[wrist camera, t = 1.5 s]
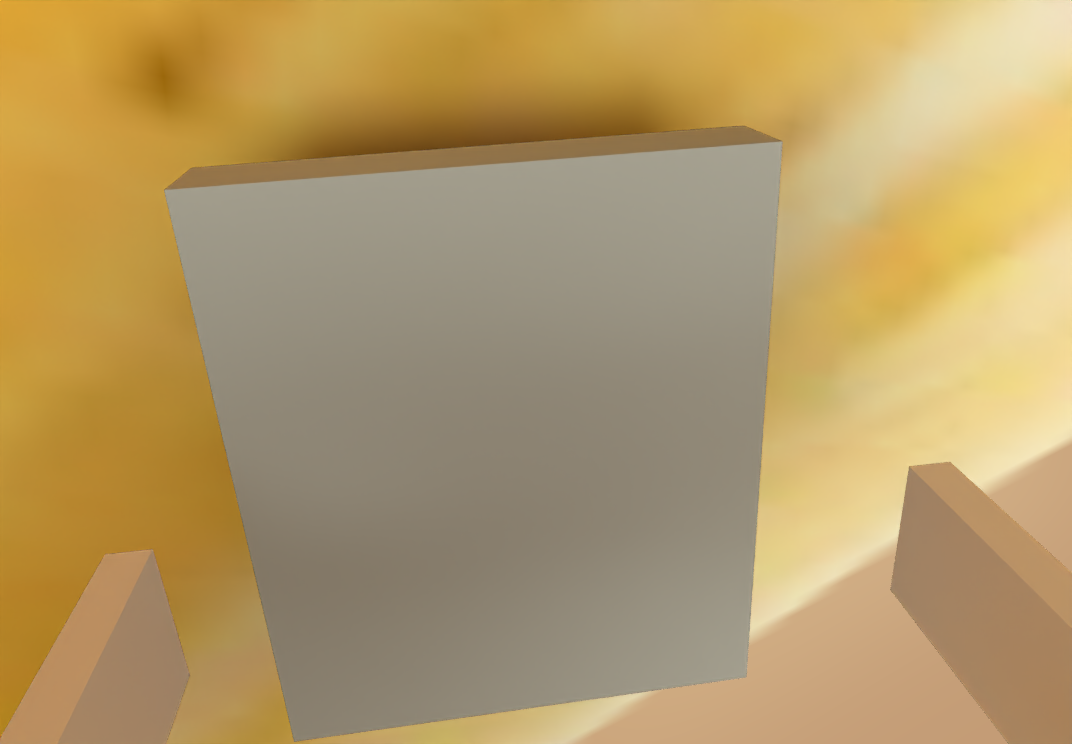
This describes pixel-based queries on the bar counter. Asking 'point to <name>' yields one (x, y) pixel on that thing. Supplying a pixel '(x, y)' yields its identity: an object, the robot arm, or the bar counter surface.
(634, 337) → the lid
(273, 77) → the bar counter surface
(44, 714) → the robot arm
